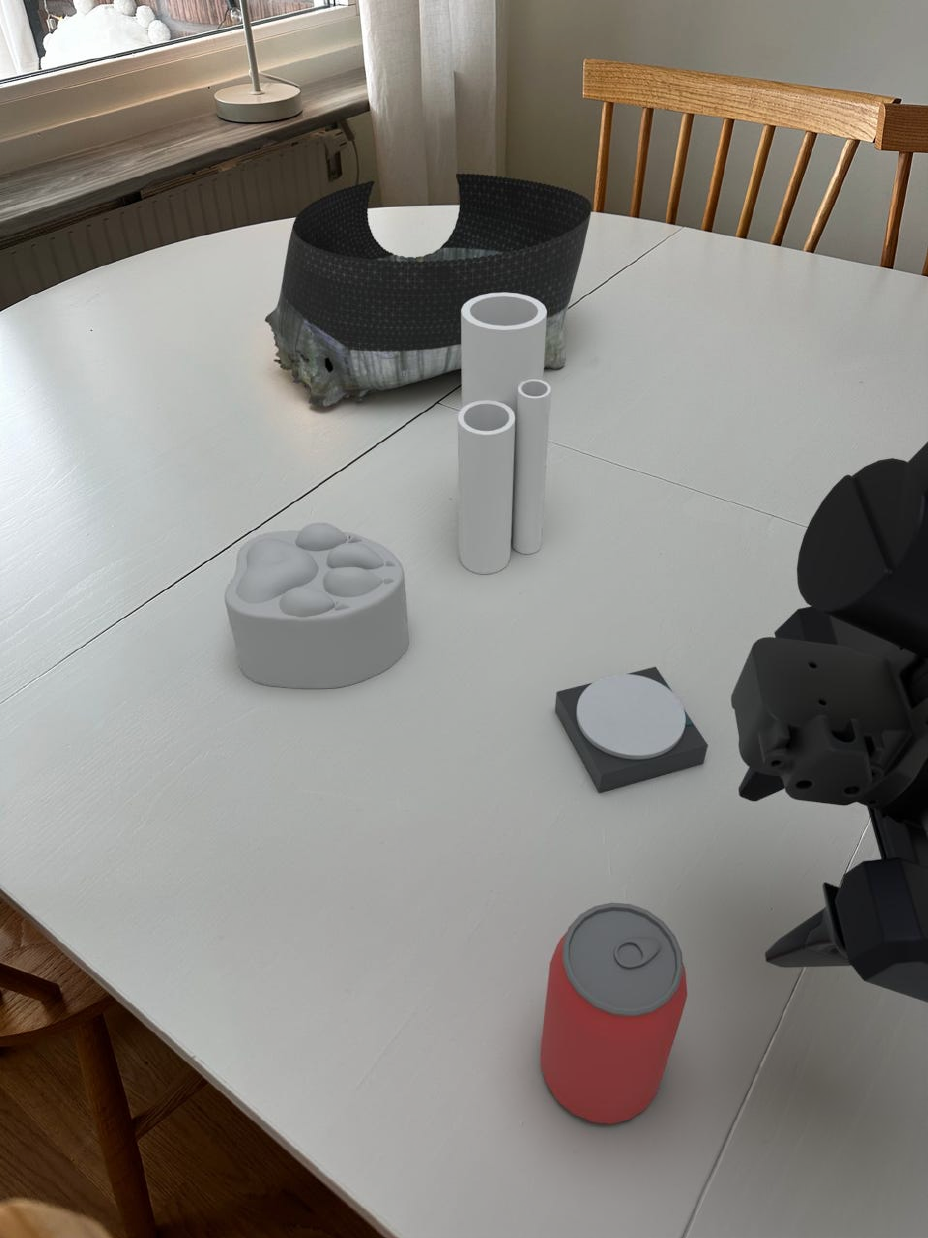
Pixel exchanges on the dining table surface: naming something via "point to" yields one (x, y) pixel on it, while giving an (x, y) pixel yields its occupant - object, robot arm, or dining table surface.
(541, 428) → the vase
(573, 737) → the scale
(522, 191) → the basket
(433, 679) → the dining table surface
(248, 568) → the lumpy-topped squat cylinder
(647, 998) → the beer can
